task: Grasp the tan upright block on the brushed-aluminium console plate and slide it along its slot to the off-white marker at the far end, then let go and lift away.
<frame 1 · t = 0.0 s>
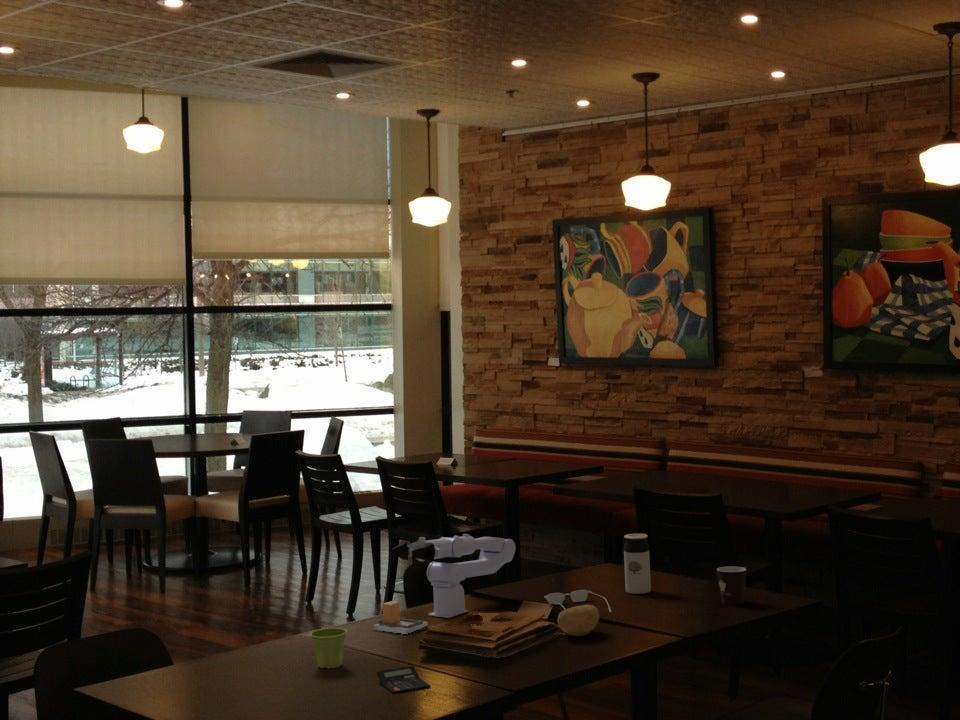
hand: (402, 553, 339), 22 cm above the table, tool horizontal, fingers open, 7 cm apart
coffee mug: (731, 601, 356), on the table
eyeglasses: (578, 610, 355), on the table
console plate: (401, 628, 339), on the table
potato: (580, 635, 323), on the table
plant pot: (330, 666, 302), on the table
calculator: (403, 686, 283), on the table
tan upright block: (391, 612, 341), point 4 cm above the table, slide at 0.0 cm
travel mug: (638, 592, 375), on the table
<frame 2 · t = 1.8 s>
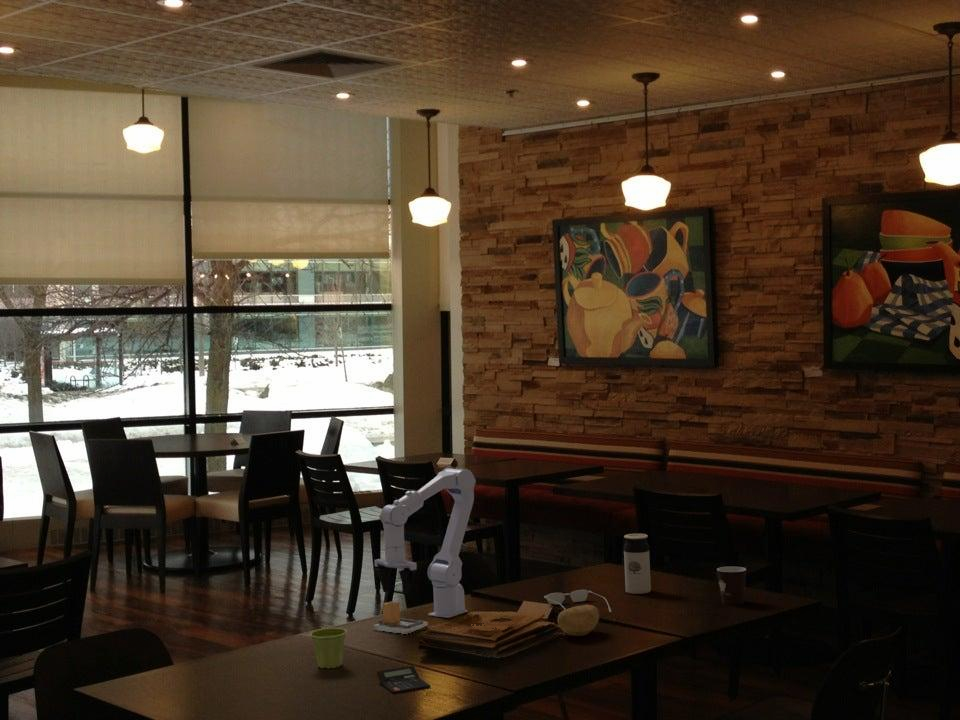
hand: (396, 592, 343), 10 cm above the table, tool pointing down, fingers open, 7 cm apart
nothing on the table moved.
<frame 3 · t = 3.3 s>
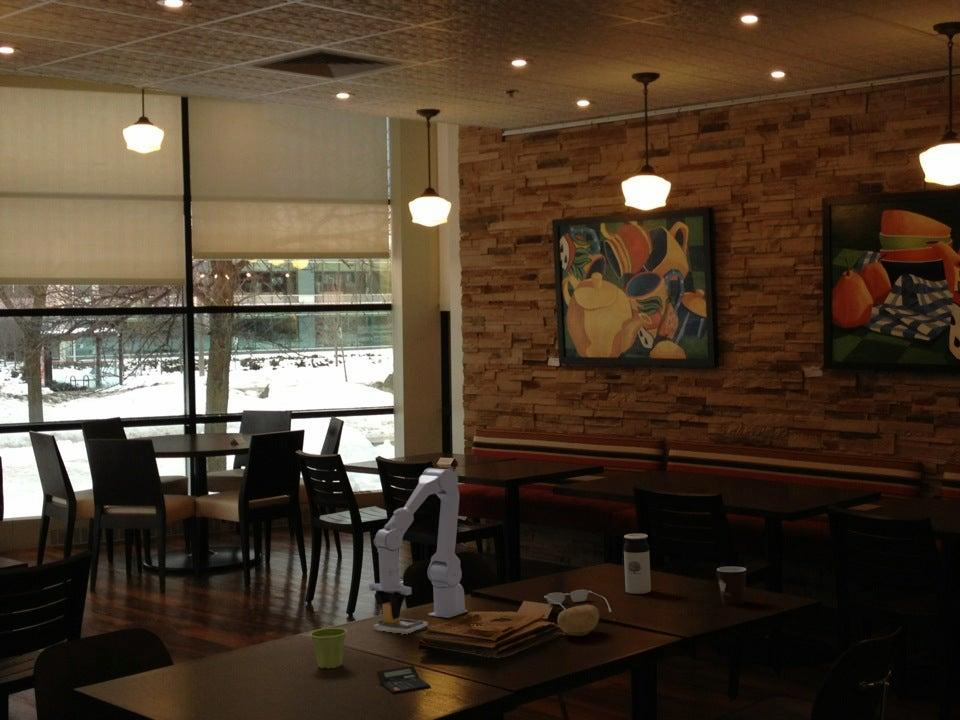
hand: (391, 617, 341), 3 cm above the table, tool pointing down, fingers closed on tan upright block, 3 cm apart
tan upright block: (391, 612, 341), point 4 cm above the table, slide at 0.0 cm, touching gripper
everything else where it was.
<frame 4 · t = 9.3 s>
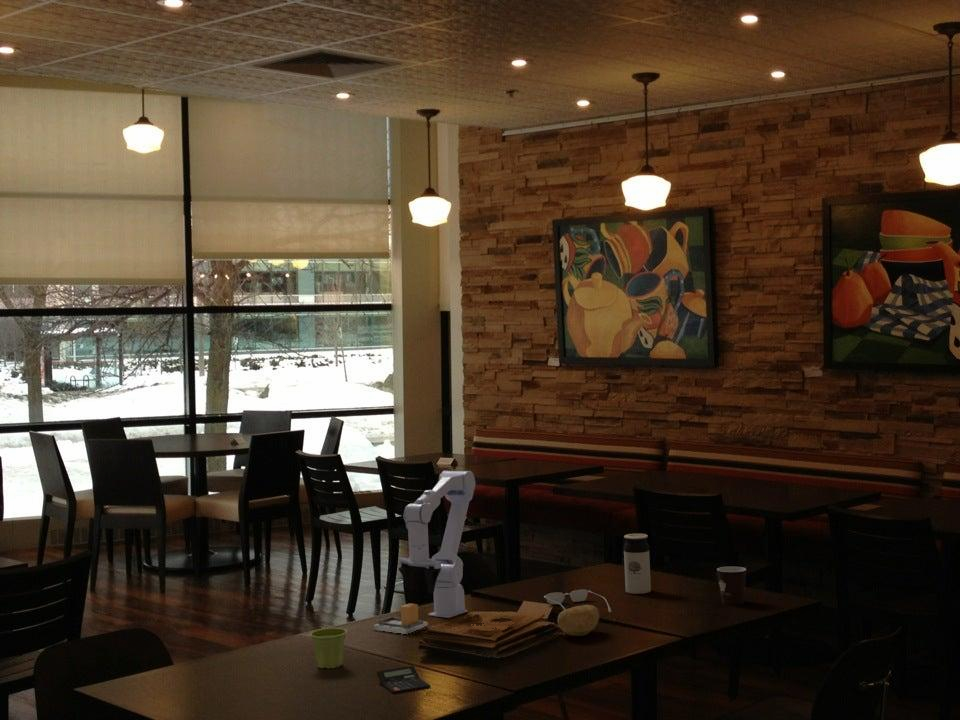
hand: (420, 591, 342), 10 cm above the table, tool pointing down, fingers open, 7 cm apart
tan upright block: (409, 614, 337), point 4 cm above the table, slide at 7.0 cm
everything else where it was.
at the end: tan upright block slide at 7.0 cm; the gripper is holding nothing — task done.
